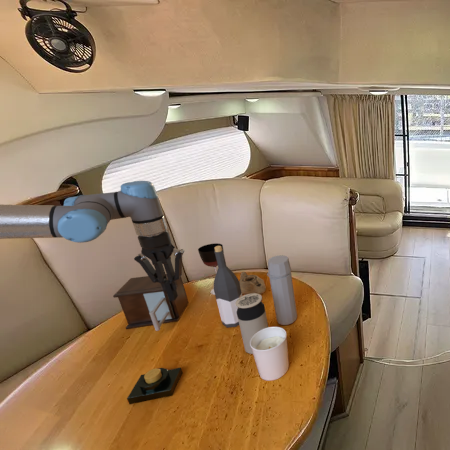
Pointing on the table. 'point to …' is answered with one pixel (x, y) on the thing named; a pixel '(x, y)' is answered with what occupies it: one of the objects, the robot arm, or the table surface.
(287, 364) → the candle holder
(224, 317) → the wine bottle
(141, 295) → the cabinet
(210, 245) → the wineglass
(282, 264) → the water bottle
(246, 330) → the travel mug
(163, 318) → the glass door
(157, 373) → the button
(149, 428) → the table surface
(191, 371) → the table surface
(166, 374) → the button block
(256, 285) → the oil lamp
